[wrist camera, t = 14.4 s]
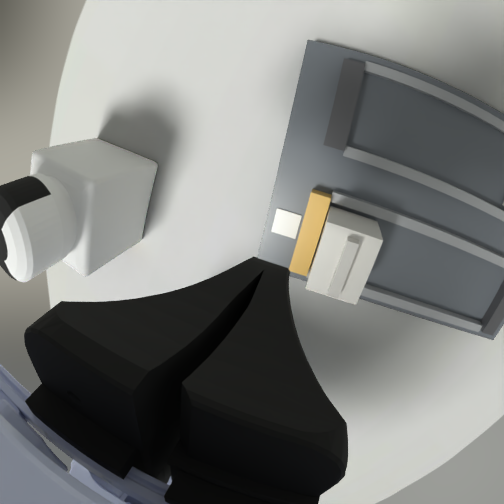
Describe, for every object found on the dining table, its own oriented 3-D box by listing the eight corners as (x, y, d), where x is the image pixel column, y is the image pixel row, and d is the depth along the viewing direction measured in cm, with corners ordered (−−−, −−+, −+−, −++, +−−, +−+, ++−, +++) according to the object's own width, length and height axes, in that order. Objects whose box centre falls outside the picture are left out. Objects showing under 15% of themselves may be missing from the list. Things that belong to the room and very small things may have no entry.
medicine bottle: (85, 209, 25) (-18, 261, 15) (96, 136, 22) (-27, 166, 11) (142, 242, 25) (35, 316, 14) (160, 162, 21) (25, 208, 11)
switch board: (489, 331, 18) (497, 348, 16) (260, 257, 22) (251, 271, 20) (562, 160, 12) (578, 166, 10) (310, 44, 15) (305, 34, 13)
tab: (355, 278, 19) (355, 311, 15) (312, 263, 19) (303, 294, 16) (377, 221, 17) (384, 244, 14) (330, 205, 17) (326, 225, 14)
